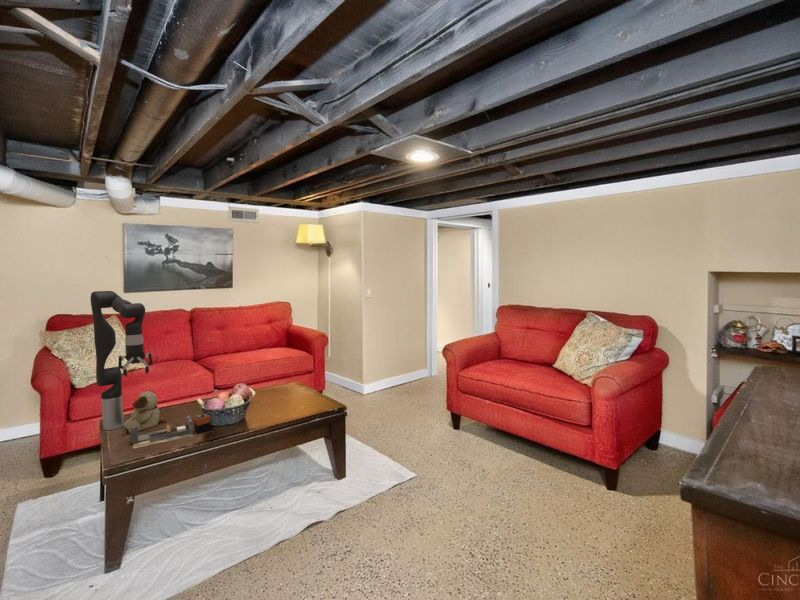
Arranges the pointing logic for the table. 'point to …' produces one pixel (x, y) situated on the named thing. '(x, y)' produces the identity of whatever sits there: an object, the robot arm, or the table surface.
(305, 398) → the table surface
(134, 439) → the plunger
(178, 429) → the marker
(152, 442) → the gauge board
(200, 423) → the battery
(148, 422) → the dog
